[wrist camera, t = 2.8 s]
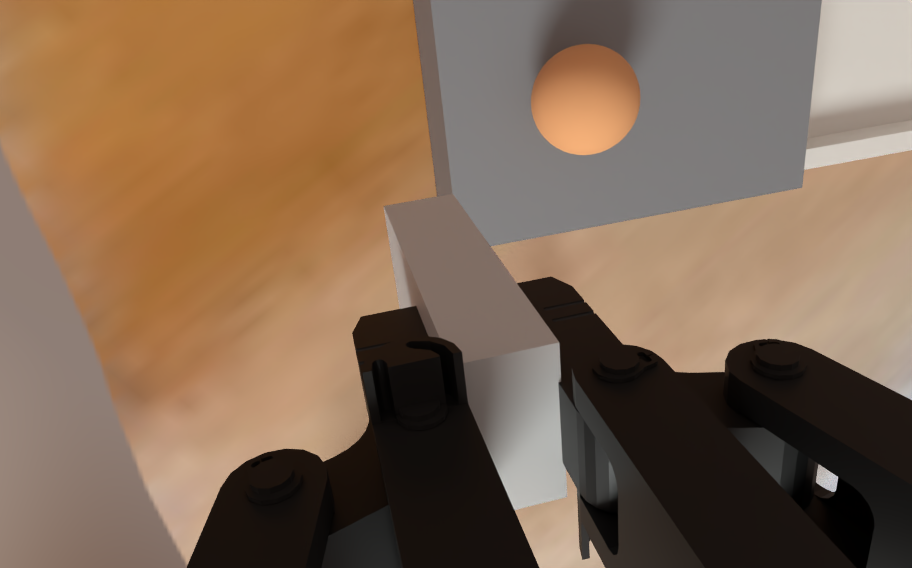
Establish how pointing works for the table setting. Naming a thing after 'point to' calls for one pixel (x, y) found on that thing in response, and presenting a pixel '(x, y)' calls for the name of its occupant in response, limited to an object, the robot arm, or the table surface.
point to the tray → (861, 82)
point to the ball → (585, 99)
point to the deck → (658, 121)
